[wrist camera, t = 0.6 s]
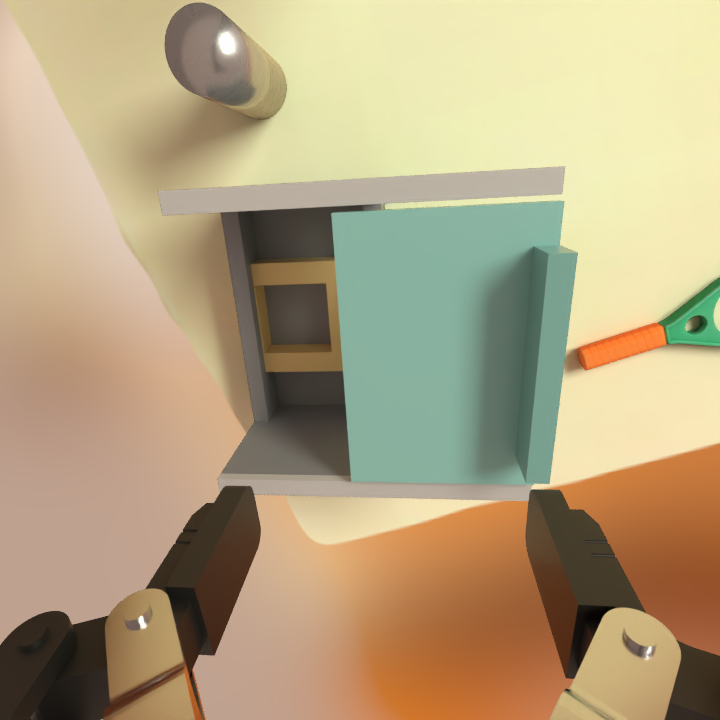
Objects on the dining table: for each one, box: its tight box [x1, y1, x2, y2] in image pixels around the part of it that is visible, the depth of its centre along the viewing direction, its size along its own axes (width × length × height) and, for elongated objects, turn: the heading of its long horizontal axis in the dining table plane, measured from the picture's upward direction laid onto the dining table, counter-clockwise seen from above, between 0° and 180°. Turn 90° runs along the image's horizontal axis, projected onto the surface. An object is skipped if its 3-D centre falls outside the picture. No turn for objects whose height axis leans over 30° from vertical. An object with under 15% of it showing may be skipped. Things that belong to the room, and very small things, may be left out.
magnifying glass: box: [578, 278, 720, 370], centre depth 33 cm, size 15×6×2 cm, turn 112°
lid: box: [331, 201, 578, 485], centre depth 23 cm, size 16×11×3 cm
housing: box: [158, 166, 565, 501], centre depth 30 cm, size 19×20×12 cm
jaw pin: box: [165, 3, 287, 119], centre depth 27 cm, size 4×4×9 cm
